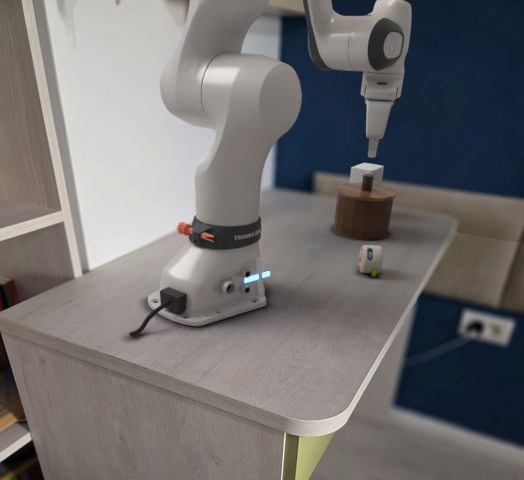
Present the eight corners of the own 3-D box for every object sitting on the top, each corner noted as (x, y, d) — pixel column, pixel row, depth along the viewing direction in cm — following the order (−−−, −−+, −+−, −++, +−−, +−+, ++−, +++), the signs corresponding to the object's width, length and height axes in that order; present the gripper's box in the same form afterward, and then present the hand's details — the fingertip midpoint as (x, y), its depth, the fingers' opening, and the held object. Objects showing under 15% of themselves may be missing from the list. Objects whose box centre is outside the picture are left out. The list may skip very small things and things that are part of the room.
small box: (357, 208, 145) (363, 162, 138) (377, 213, 142) (385, 165, 135) (344, 215, 139) (350, 166, 132) (365, 219, 136) (372, 170, 129)
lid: (375, 207, 114) (379, 185, 112) (324, 194, 122) (326, 174, 120) (406, 196, 124) (410, 176, 121) (356, 185, 132) (359, 166, 129)
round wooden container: (369, 244, 120) (375, 204, 115) (323, 230, 127) (327, 192, 122) (397, 231, 129) (404, 194, 123) (352, 219, 136) (357, 183, 131)
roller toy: (359, 277, 102) (363, 250, 99) (355, 265, 108) (359, 240, 105) (380, 278, 102) (385, 251, 99) (375, 266, 108) (380, 241, 105)
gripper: (368, 83, 120) (360, 144, 127) (365, 90, 103) (356, 160, 110) (395, 84, 119) (385, 146, 126) (396, 92, 102) (385, 162, 109)
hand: (372, 153), depth 118 cm, fingers open, 8 cm apart
